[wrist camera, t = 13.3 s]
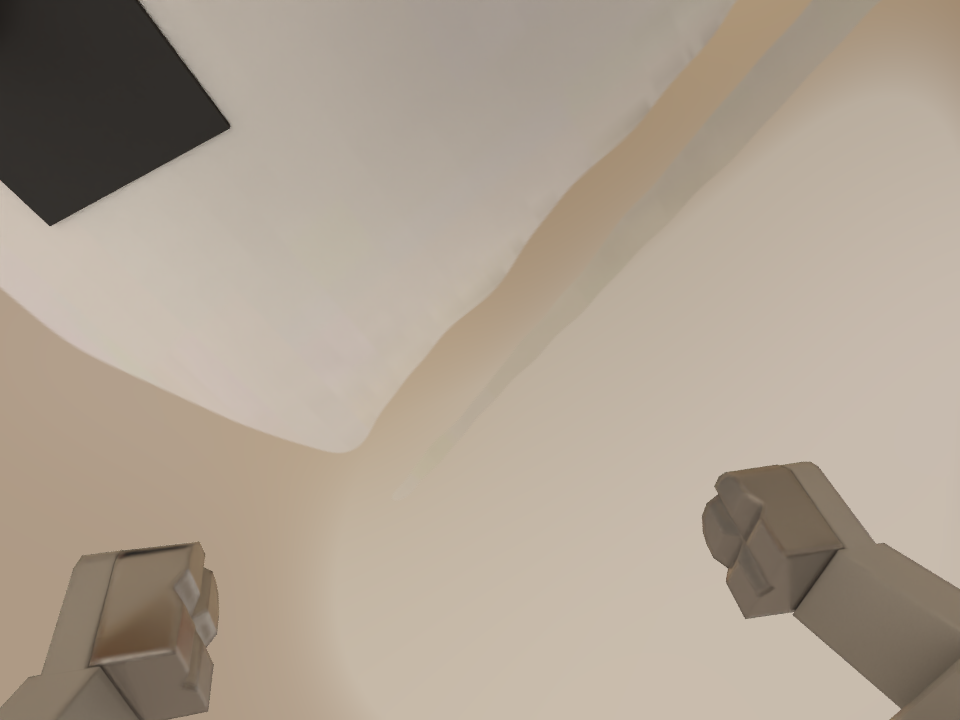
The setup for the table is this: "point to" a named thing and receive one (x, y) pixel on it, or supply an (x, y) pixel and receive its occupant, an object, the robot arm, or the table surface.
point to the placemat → (91, 101)
